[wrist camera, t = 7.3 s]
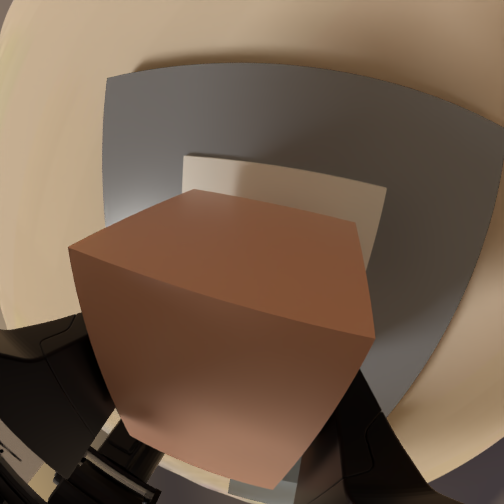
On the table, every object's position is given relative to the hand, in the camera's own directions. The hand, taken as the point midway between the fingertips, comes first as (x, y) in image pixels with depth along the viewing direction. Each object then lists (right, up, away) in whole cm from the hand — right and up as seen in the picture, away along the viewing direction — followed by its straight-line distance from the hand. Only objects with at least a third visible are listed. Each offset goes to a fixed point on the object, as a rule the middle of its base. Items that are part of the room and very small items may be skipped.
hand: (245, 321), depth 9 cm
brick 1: (0, 0, +1) cm, 1 cm away
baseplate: (+1, +1, +3) cm, 3 cm away
